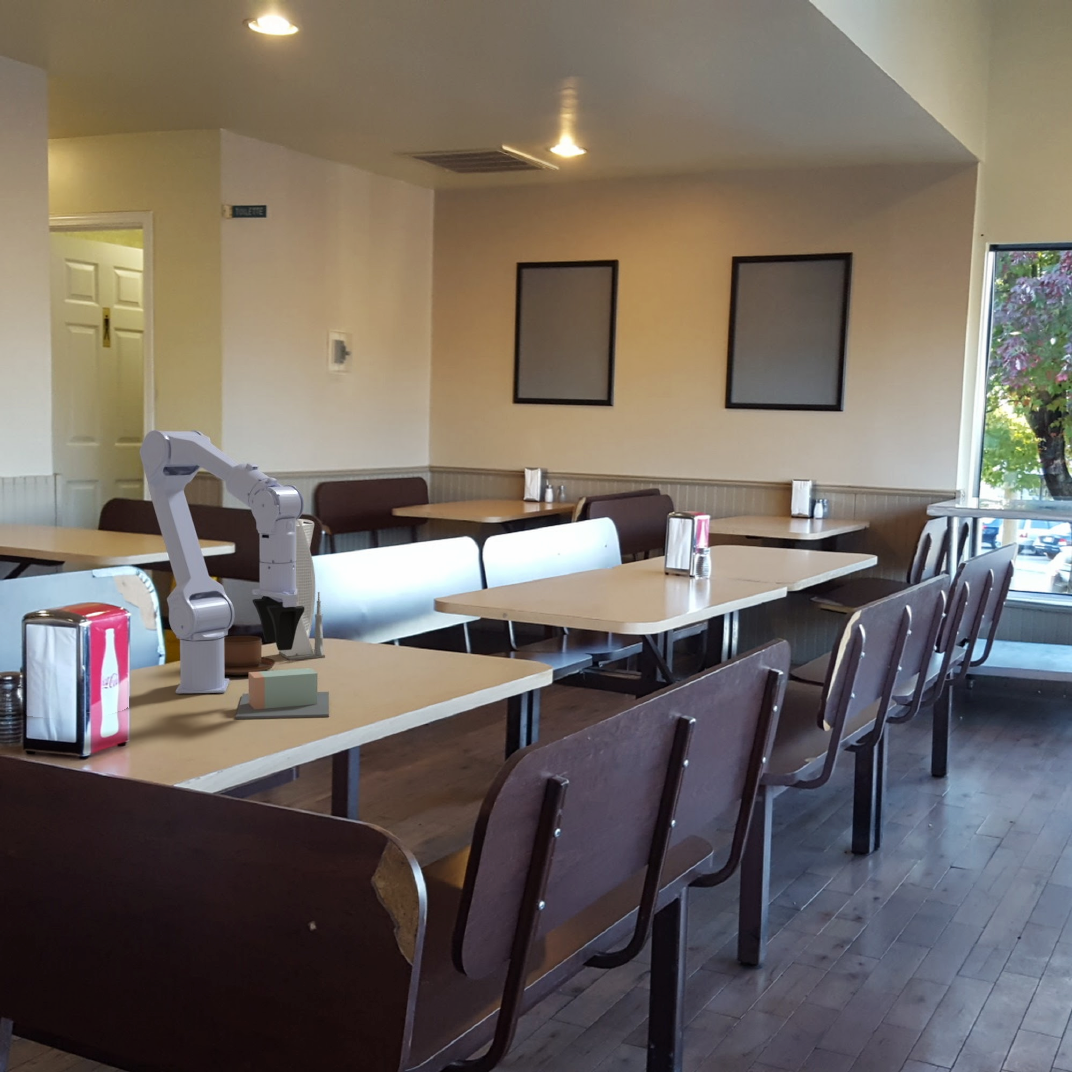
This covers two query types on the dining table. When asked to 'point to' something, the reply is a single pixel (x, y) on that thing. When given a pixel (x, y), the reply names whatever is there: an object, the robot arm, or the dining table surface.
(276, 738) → the dining table surface
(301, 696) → the green and orange block
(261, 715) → the rubber mat
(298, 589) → the skyscraper
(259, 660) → the cup and saucer
